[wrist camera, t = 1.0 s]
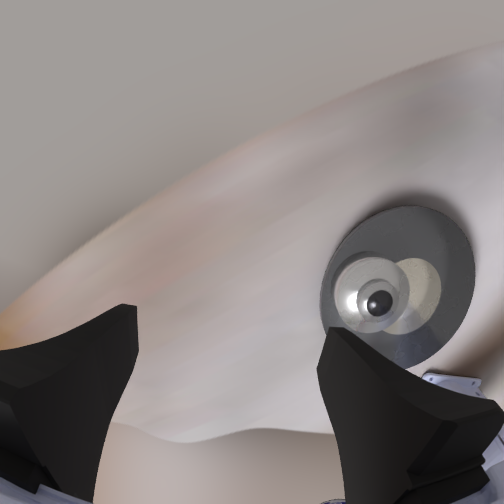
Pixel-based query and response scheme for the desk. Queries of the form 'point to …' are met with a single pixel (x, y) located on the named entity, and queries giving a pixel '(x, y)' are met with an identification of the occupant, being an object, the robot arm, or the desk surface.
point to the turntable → (412, 280)
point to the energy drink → (335, 501)
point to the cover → (369, 291)
